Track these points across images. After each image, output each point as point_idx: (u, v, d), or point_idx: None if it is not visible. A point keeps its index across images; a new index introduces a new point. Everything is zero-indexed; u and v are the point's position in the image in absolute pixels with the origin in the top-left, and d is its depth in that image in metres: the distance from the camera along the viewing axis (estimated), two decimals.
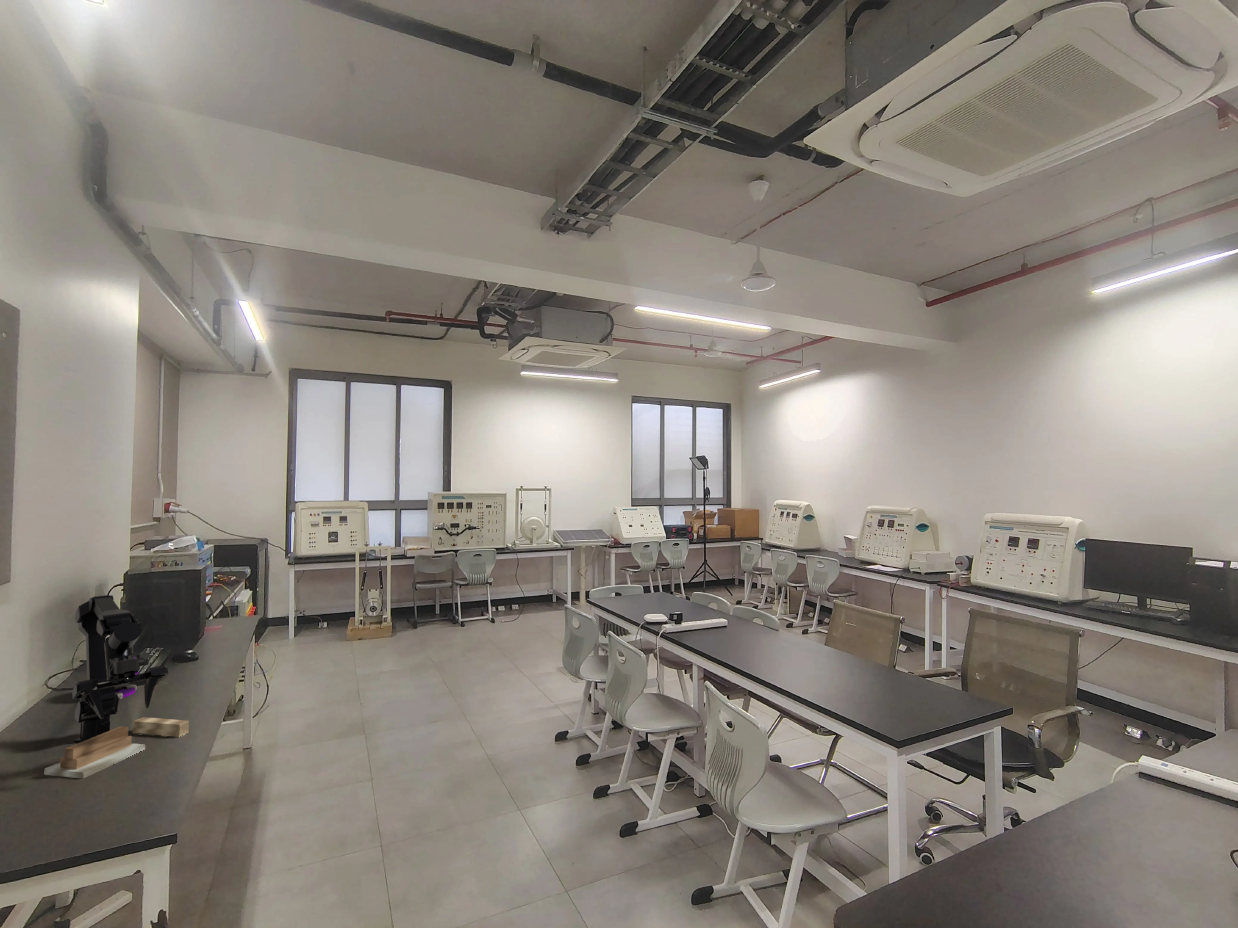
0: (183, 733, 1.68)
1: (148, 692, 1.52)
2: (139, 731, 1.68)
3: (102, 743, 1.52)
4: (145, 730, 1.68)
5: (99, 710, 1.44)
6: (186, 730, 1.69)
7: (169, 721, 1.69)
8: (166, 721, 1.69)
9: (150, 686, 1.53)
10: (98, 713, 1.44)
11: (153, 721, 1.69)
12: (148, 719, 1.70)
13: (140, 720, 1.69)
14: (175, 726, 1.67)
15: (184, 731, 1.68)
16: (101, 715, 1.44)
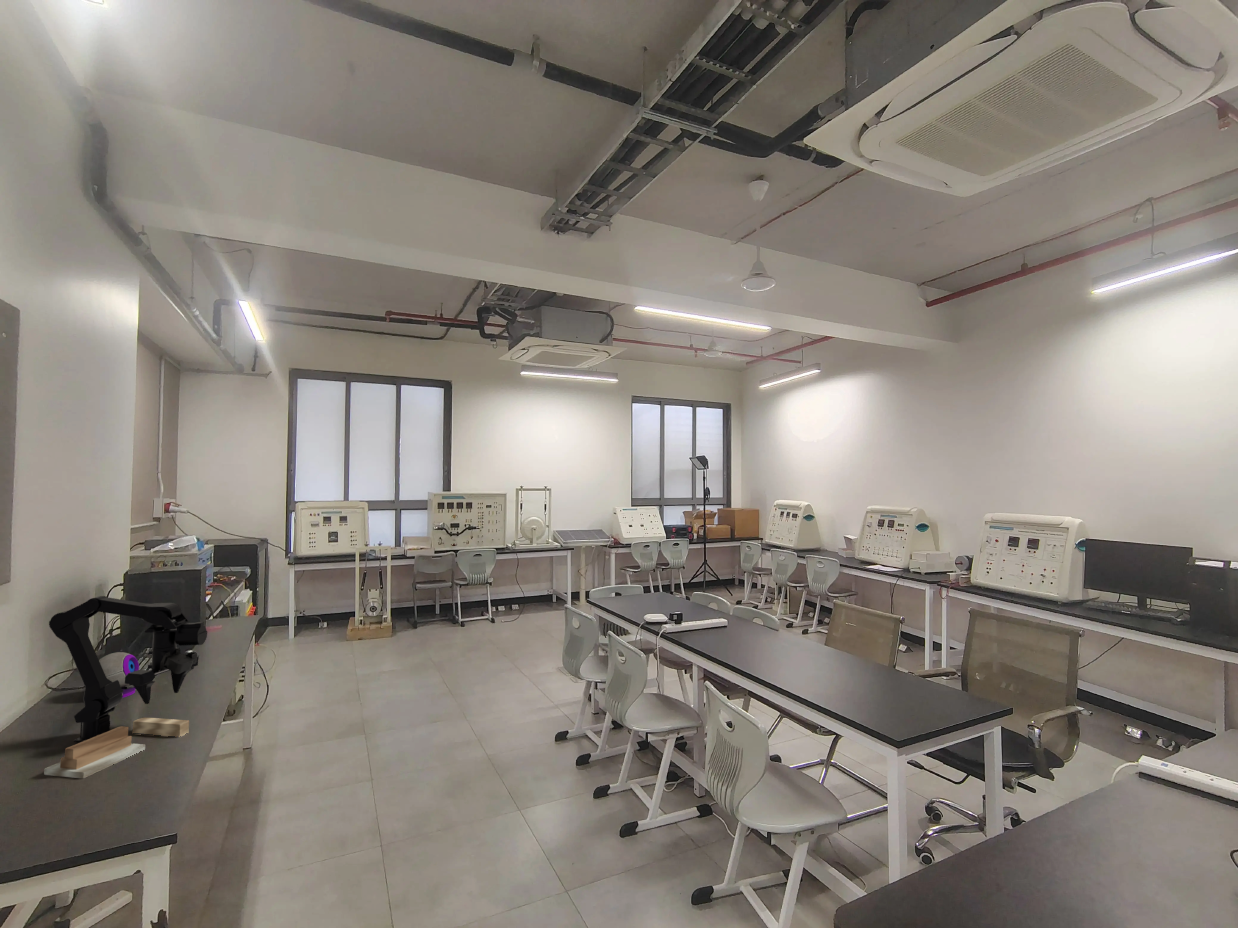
0: (183, 733, 1.68)
1: (180, 680, 1.74)
2: (139, 731, 1.68)
3: (102, 743, 1.52)
4: (145, 730, 1.68)
5: (148, 698, 1.65)
6: (186, 730, 1.69)
7: (169, 721, 1.69)
8: (166, 720, 1.69)
9: (183, 675, 1.75)
10: (145, 699, 1.65)
11: (153, 721, 1.69)
12: (148, 719, 1.70)
13: (140, 720, 1.69)
14: (175, 726, 1.67)
15: (184, 731, 1.68)
16: (148, 702, 1.65)
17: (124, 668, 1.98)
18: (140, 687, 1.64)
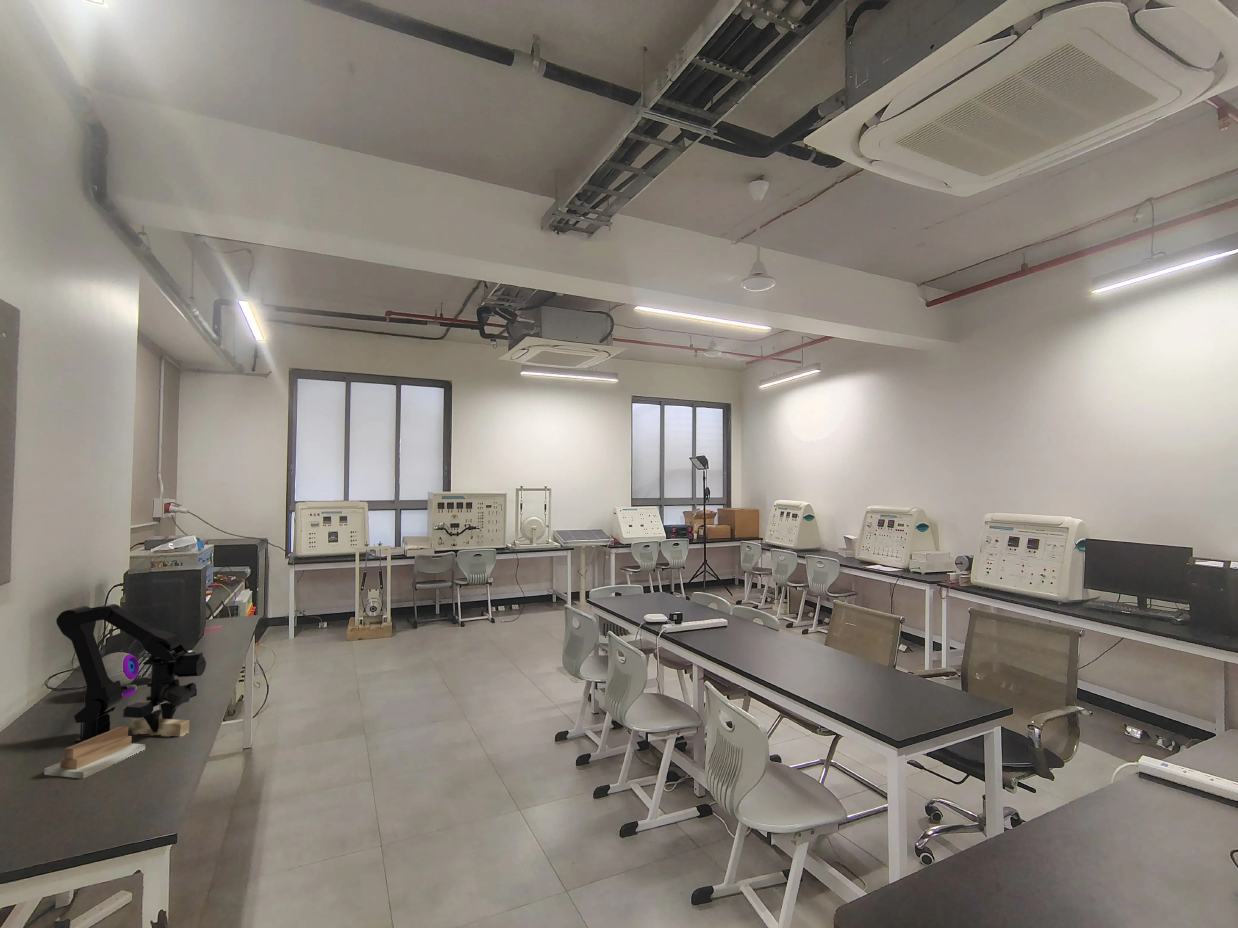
0: (184, 733, 1.68)
1: (170, 715, 1.71)
2: (139, 731, 1.68)
3: (102, 743, 1.52)
4: (145, 730, 1.68)
5: (156, 726, 1.67)
6: (187, 729, 1.69)
7: (169, 721, 1.69)
8: (166, 720, 1.69)
9: (173, 709, 1.72)
10: (153, 728, 1.67)
11: None
12: None
13: (139, 720, 1.69)
14: (176, 726, 1.67)
15: (185, 731, 1.68)
16: (156, 730, 1.67)
17: (124, 668, 1.98)
18: (148, 716, 1.67)
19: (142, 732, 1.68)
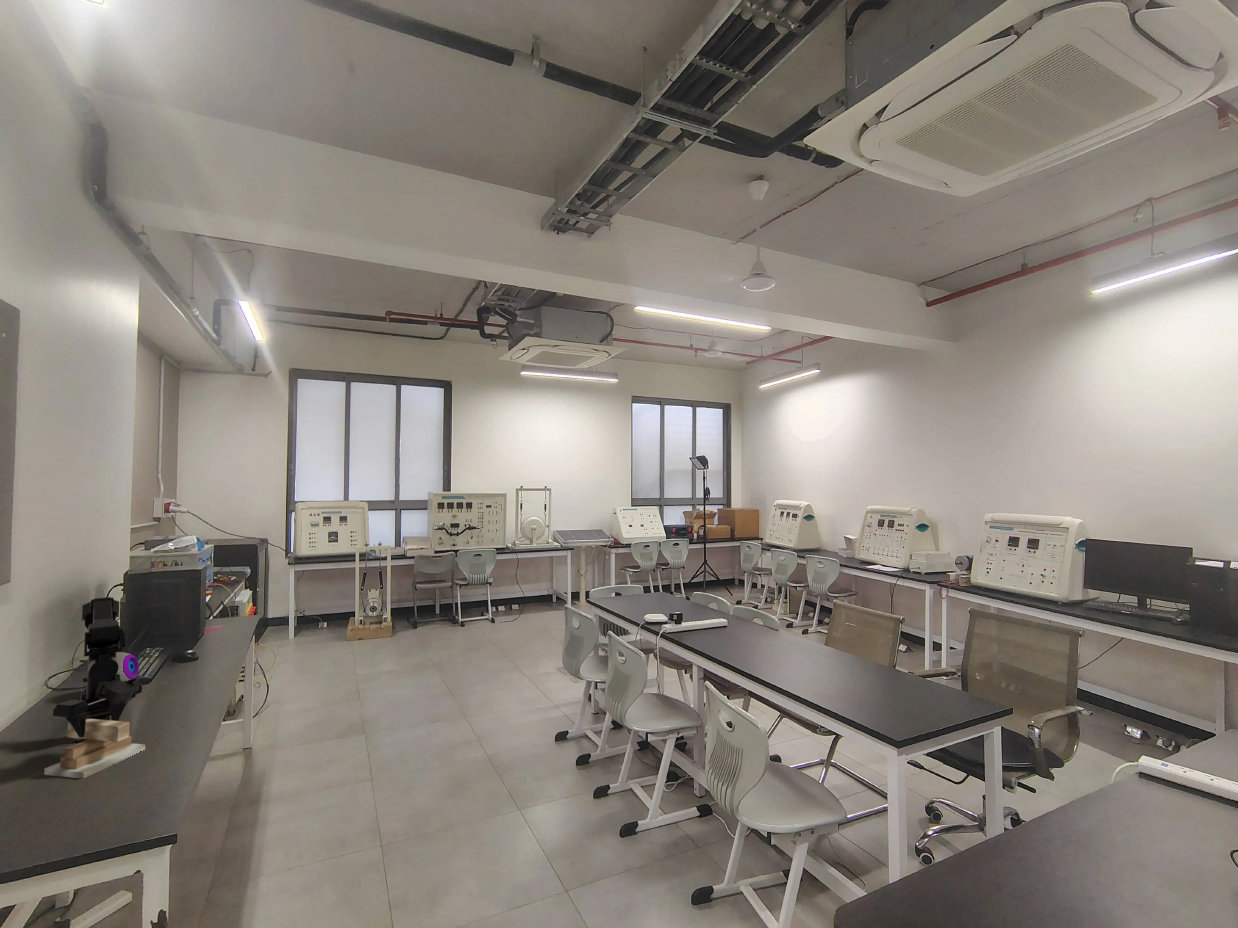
0: (123, 736, 1.50)
1: (120, 710, 1.56)
2: (74, 734, 1.51)
3: (102, 743, 1.52)
4: None
5: (82, 730, 1.47)
6: (126, 732, 1.51)
7: (108, 722, 1.51)
8: (105, 722, 1.52)
9: (123, 704, 1.57)
10: (79, 732, 1.47)
11: (90, 722, 1.51)
12: None
13: None
14: (113, 728, 1.49)
15: (124, 734, 1.51)
16: (82, 735, 1.47)
17: (124, 668, 1.98)
18: (73, 719, 1.47)
19: None
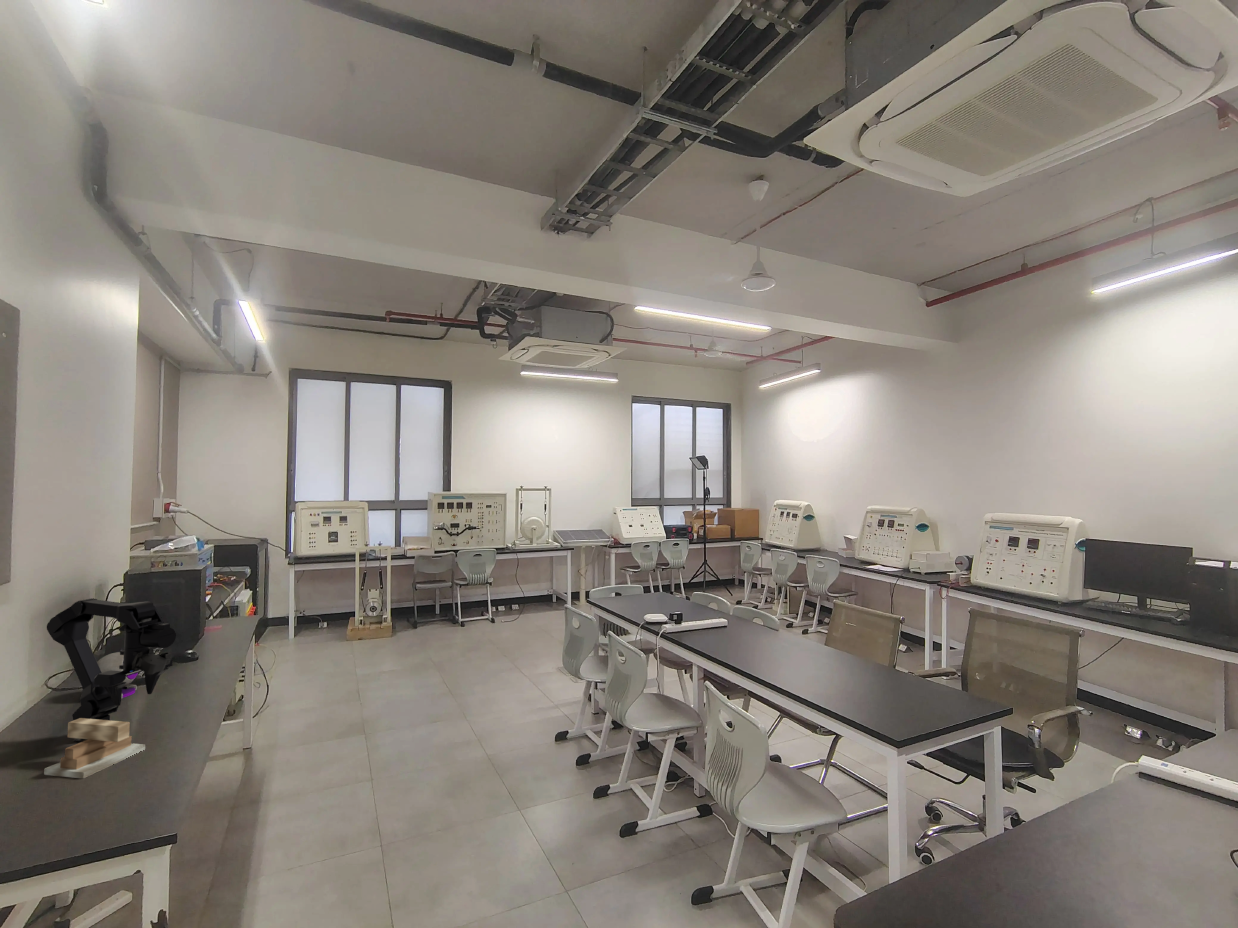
0: (123, 736, 1.50)
1: (154, 681, 1.69)
2: (74, 734, 1.51)
3: (102, 743, 1.52)
4: (81, 733, 1.51)
5: (119, 699, 1.59)
6: (126, 732, 1.51)
7: (108, 722, 1.51)
8: (105, 722, 1.52)
9: (157, 676, 1.70)
10: (116, 701, 1.59)
11: (90, 722, 1.51)
12: (85, 720, 1.53)
13: (76, 721, 1.52)
14: (113, 728, 1.49)
15: (124, 734, 1.51)
16: (119, 703, 1.59)
17: None
18: (111, 688, 1.59)
19: (78, 734, 1.51)
